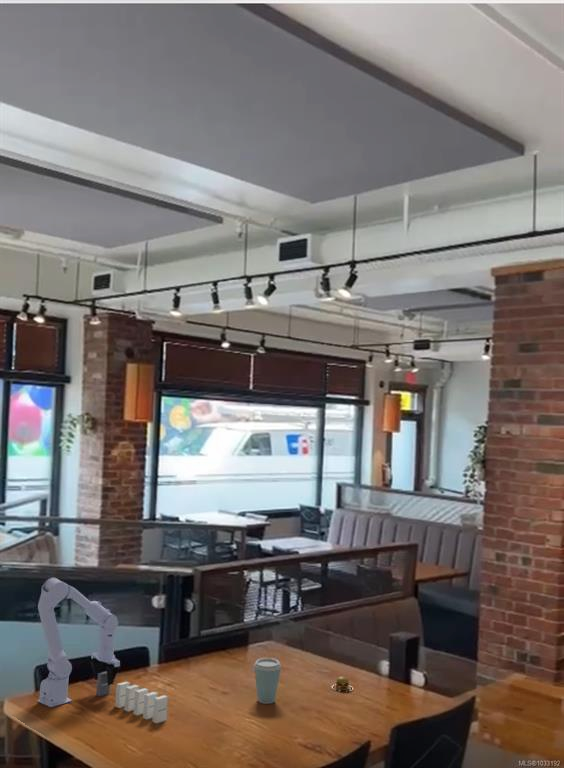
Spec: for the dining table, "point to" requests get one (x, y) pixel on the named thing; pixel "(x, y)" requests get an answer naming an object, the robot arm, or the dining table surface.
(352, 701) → the dining table surface
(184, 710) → the dining table surface
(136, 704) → the tile
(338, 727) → the dining table surface
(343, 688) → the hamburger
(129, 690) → the tile
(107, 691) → the tile
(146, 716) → the tile
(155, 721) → the tile
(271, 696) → the disposable coffee cup
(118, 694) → the tile
